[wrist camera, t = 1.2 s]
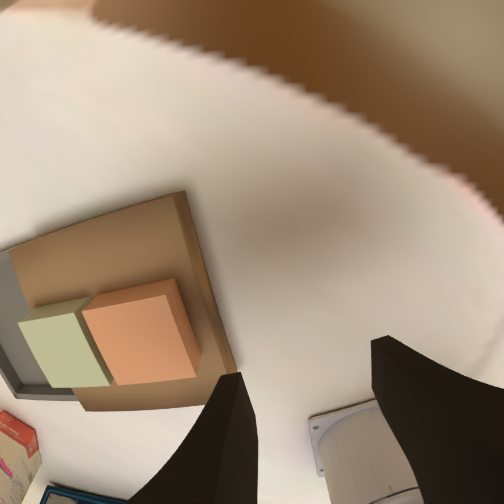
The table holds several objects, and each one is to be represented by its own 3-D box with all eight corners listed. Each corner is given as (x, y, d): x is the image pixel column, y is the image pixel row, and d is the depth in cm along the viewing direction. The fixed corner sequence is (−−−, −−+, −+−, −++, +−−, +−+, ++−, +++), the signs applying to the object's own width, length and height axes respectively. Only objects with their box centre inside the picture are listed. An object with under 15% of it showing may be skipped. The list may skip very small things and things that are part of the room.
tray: (96, 386, 20) (88, 401, 19) (24, 387, 21) (15, 398, 19) (31, 239, 17) (16, 246, 15) (-33, 265, 17) (-46, 273, 16)
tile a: (201, 354, 16) (196, 376, 14) (128, 364, 16) (117, 385, 14) (174, 277, 15) (165, 294, 13) (97, 294, 15) (81, 311, 13)
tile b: (121, 364, 16) (110, 385, 14) (65, 369, 16) (52, 387, 14) (90, 296, 15) (73, 312, 13) (35, 307, 15) (17, 322, 13)
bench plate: (237, 370, 20) (236, 400, 17) (99, 386, 20) (85, 411, 17) (184, 190, 17) (172, 196, 14) (34, 238, 17) (8, 251, 14)
